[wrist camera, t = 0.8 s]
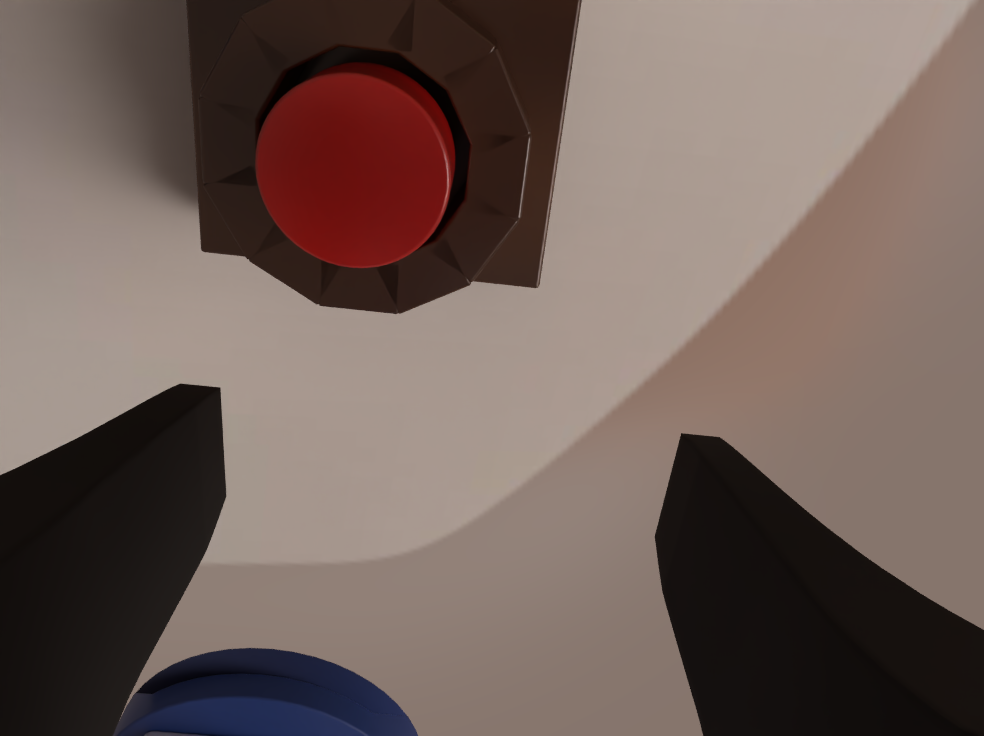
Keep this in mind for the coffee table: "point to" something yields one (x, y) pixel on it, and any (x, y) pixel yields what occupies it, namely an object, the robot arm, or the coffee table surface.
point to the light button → (356, 165)
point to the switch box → (446, 77)
